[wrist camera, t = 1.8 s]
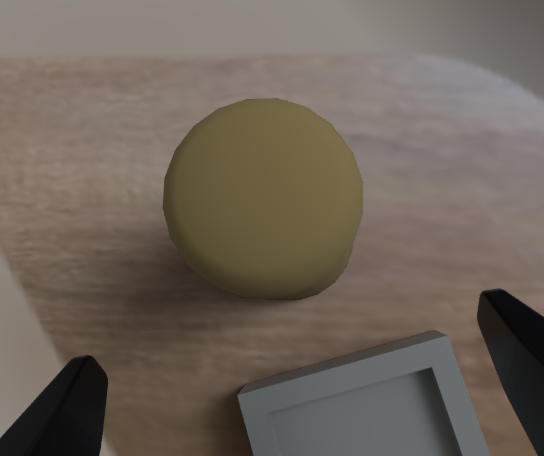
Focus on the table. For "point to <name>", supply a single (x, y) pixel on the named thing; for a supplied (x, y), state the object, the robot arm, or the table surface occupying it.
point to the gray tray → (367, 405)
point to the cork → (264, 200)
